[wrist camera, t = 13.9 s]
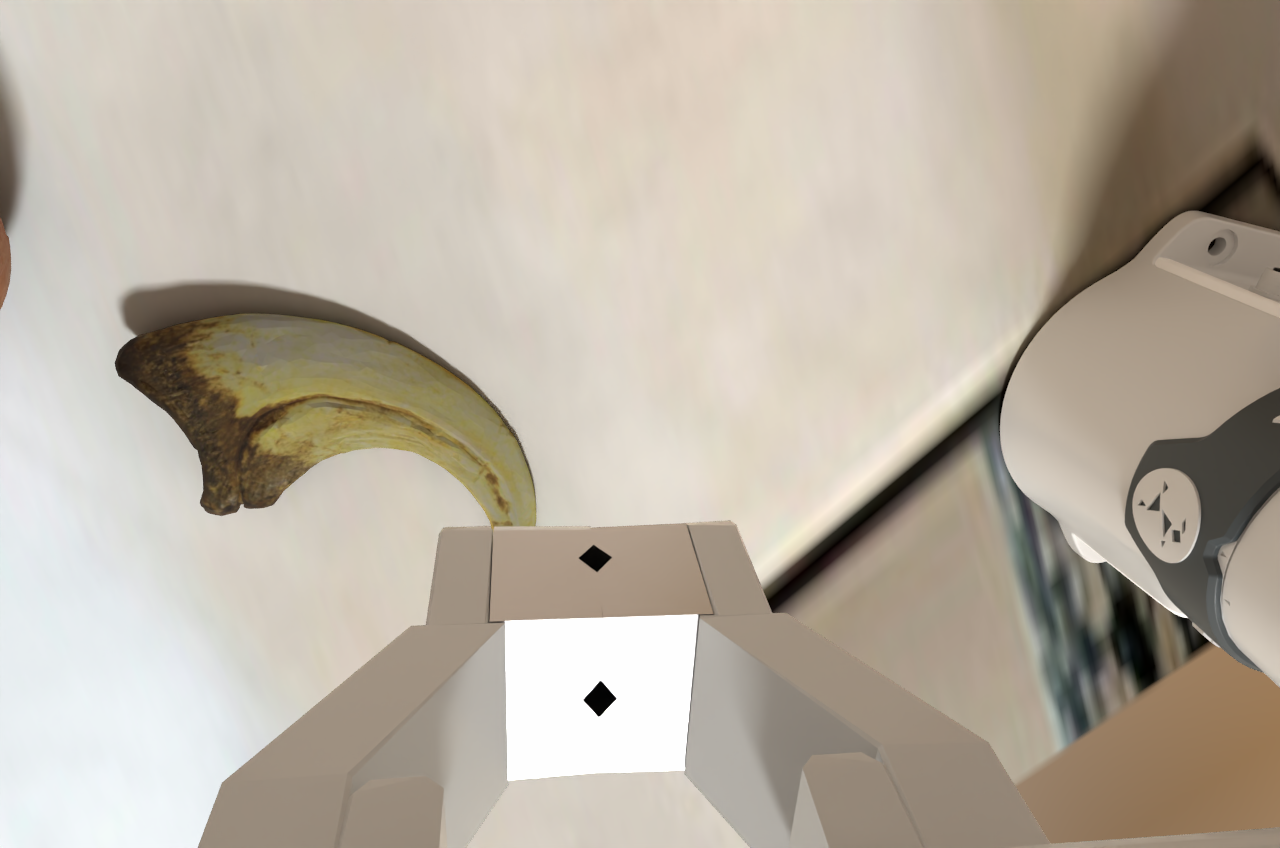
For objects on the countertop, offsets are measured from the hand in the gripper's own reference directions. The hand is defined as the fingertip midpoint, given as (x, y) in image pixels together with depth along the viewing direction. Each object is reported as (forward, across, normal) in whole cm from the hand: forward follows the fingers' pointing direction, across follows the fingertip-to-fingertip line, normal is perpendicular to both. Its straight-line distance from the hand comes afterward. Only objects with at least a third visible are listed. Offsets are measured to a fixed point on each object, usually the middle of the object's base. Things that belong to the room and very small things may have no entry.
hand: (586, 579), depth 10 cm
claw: (+32, +8, +14) cm, 36 cm away
